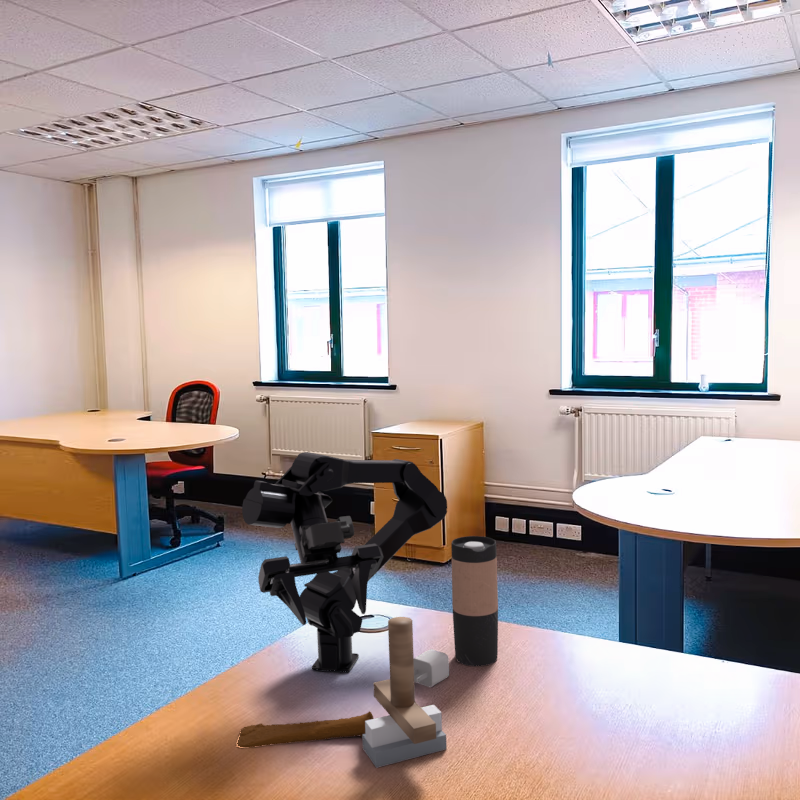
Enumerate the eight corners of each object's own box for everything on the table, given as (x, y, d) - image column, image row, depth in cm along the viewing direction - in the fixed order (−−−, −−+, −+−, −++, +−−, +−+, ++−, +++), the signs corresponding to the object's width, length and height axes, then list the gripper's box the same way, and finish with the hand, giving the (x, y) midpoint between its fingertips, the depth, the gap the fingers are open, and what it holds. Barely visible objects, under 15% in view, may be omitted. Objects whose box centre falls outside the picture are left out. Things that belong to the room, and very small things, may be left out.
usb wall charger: (449, 678, 124) (448, 654, 123) (422, 694, 118) (421, 669, 118) (429, 671, 126) (428, 648, 126) (402, 687, 121) (401, 663, 121)
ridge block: (376, 767, 99) (375, 734, 98) (362, 748, 103) (361, 716, 103) (446, 749, 103) (445, 716, 102) (430, 731, 107) (429, 700, 107)
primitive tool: (234, 751, 105) (233, 727, 104) (240, 731, 110) (239, 707, 110) (376, 744, 105) (375, 719, 105) (376, 724, 111) (375, 700, 111)
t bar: (373, 696, 109) (370, 606, 107) (394, 691, 110) (391, 602, 109) (413, 744, 96) (410, 642, 95) (436, 738, 97) (434, 637, 96)
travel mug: (468, 644, 136) (465, 533, 134) (507, 654, 132) (504, 539, 130) (445, 660, 130) (441, 544, 128) (484, 671, 126) (482, 550, 124)
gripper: (258, 506, 114) (280, 603, 105) (377, 492, 121) (407, 582, 112) (250, 546, 122) (269, 638, 113) (361, 530, 129) (388, 616, 120)
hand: (334, 618), depth 114 cm, fingers open, 9 cm apart
